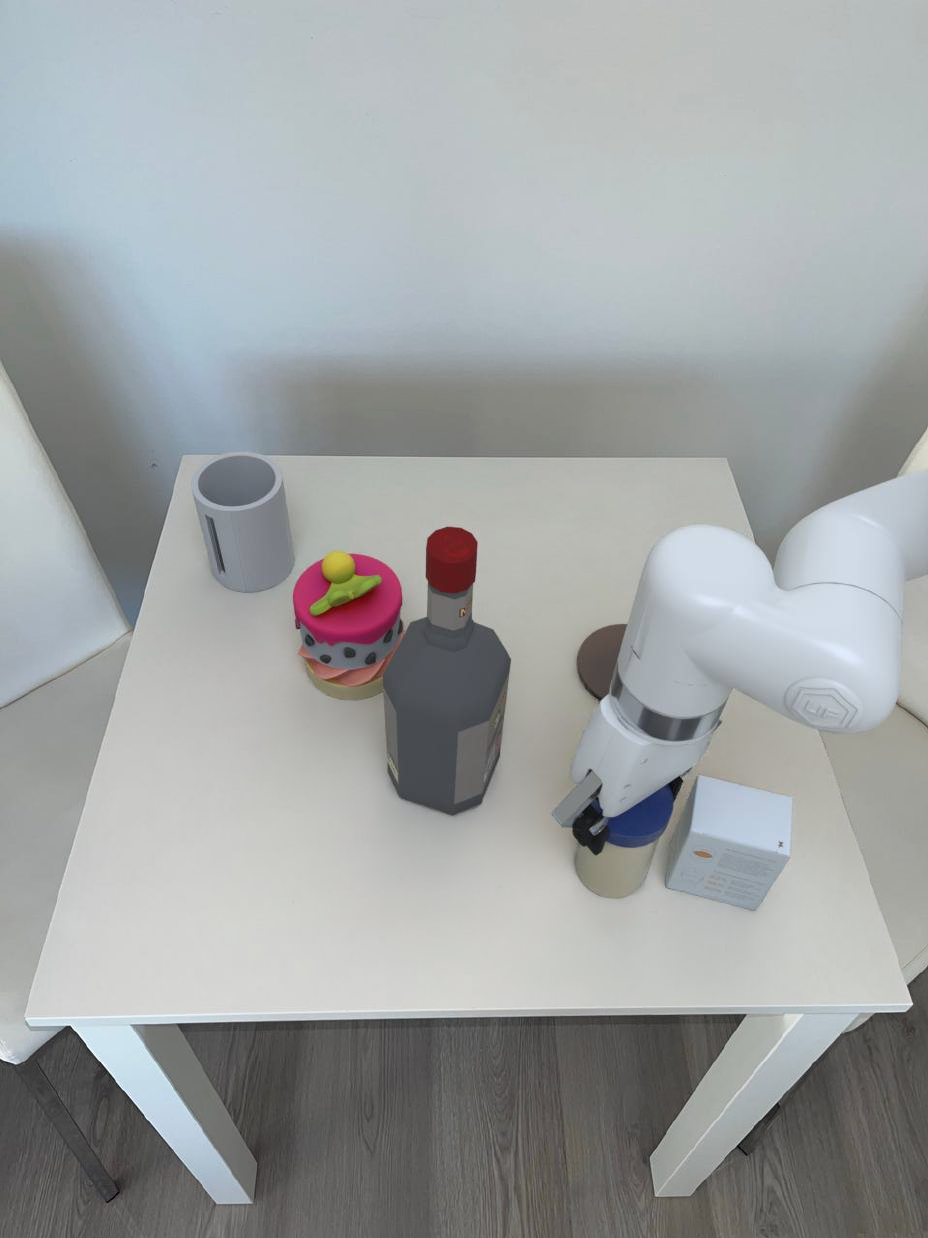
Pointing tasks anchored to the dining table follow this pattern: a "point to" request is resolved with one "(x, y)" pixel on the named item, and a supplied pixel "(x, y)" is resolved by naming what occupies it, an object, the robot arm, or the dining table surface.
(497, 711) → the liquor
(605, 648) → the coaster
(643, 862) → the jar
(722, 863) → the small box
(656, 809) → the lid
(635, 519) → the dining table surface
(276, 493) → the cup
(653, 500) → the dining table surface
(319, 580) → the cake
